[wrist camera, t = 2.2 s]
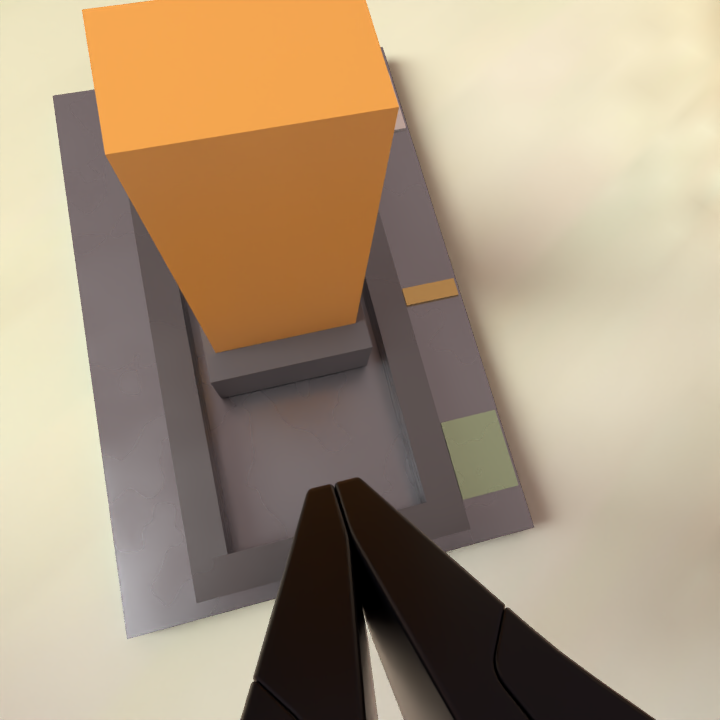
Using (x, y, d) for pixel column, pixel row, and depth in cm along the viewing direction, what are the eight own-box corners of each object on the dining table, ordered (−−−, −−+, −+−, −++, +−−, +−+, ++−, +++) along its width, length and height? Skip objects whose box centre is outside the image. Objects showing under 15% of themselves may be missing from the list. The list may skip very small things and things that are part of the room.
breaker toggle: (366, 365, 19) (435, 151, 8) (221, 398, 18) (89, 211, 7) (336, 252, 20) (363, -69, 9) (198, 280, 19) (53, -32, 8)
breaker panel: (524, 527, 18) (549, 527, 17) (135, 634, 17) (113, 647, 15) (380, 63, 23) (386, 20, 21) (62, 111, 21) (37, 70, 19)
